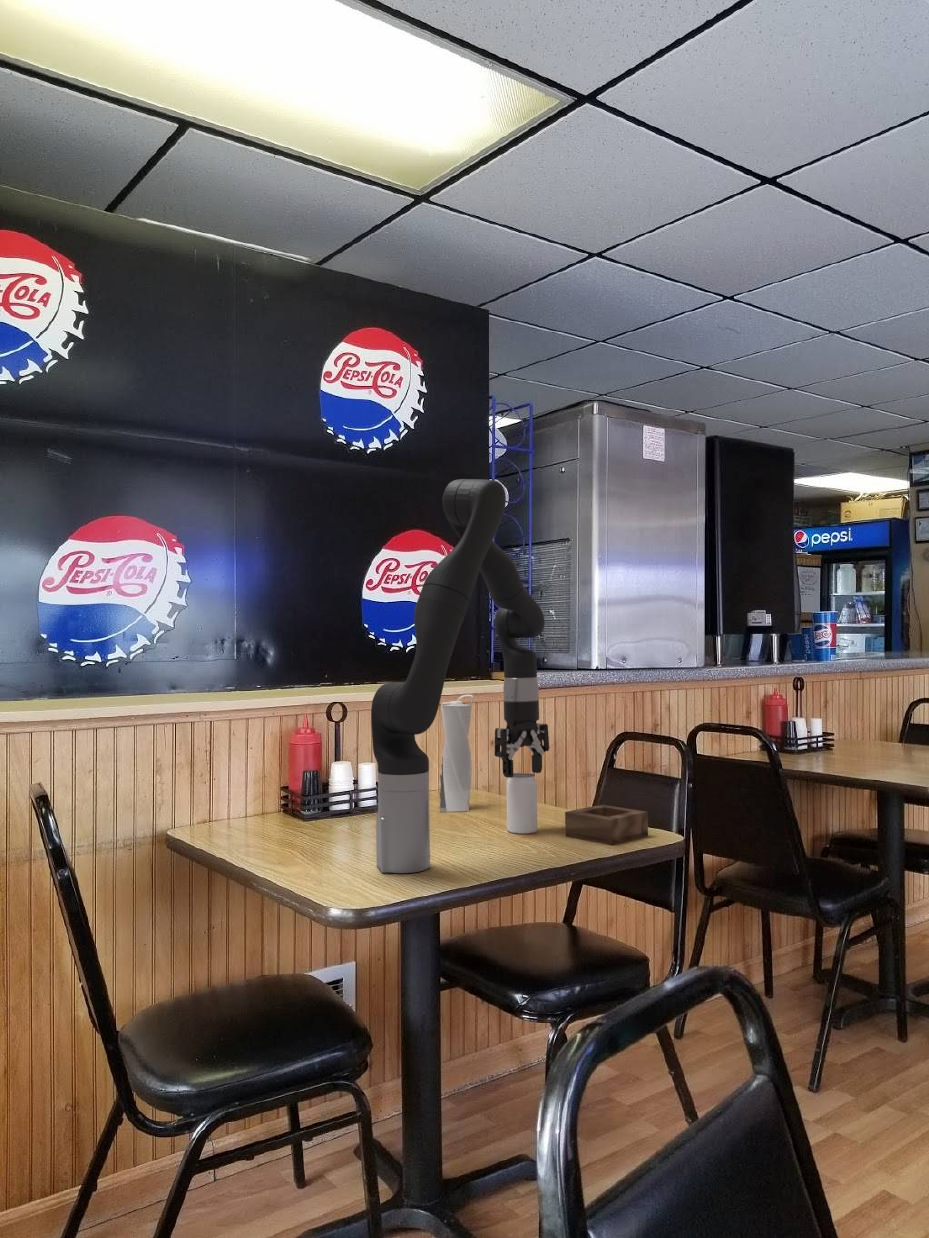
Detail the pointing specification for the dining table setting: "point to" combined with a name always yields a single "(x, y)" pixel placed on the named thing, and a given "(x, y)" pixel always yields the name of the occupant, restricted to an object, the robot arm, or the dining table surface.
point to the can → (522, 803)
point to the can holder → (606, 824)
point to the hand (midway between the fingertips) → (522, 774)
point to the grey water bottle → (456, 757)
